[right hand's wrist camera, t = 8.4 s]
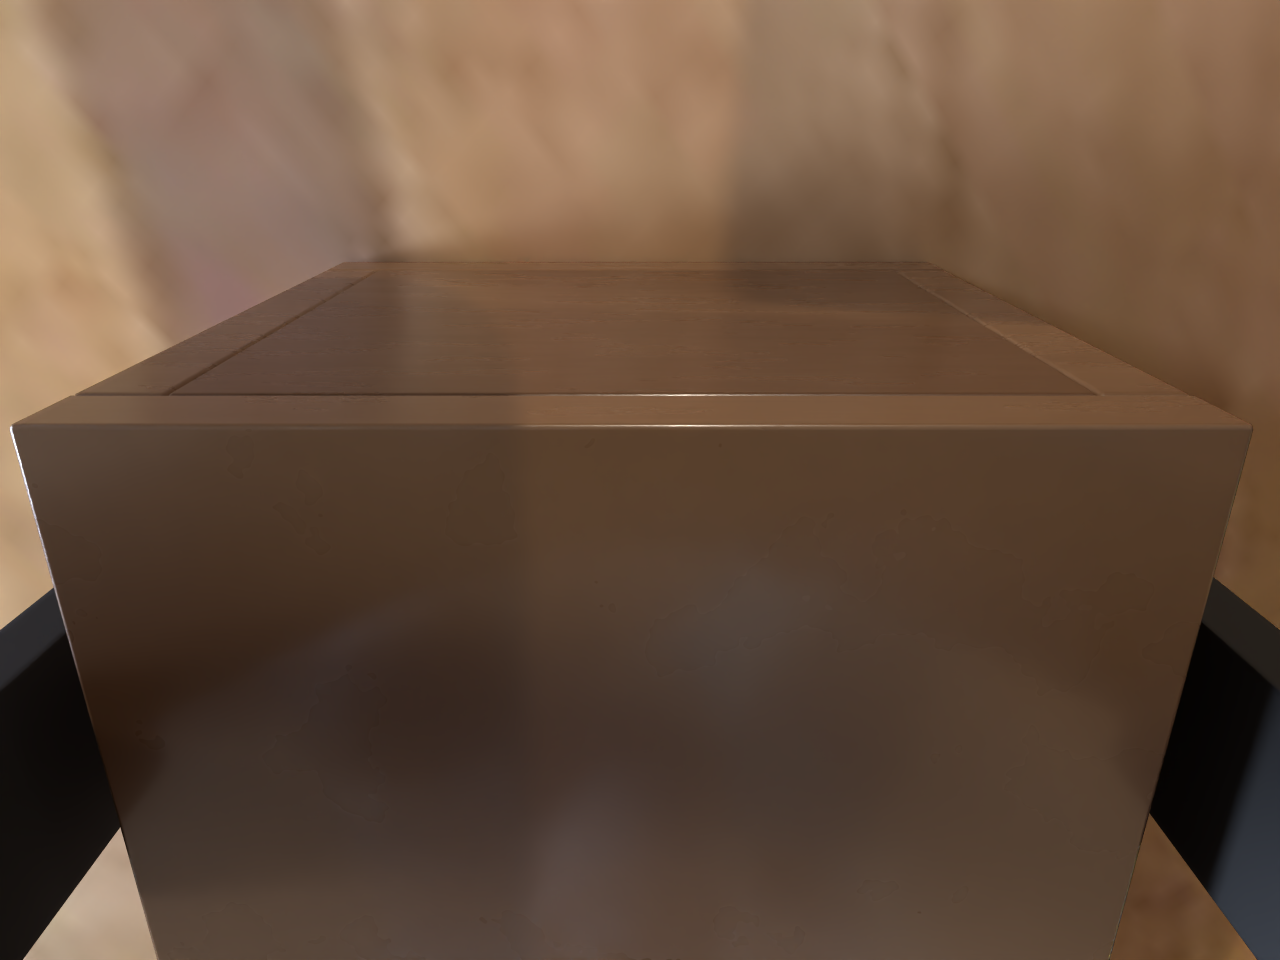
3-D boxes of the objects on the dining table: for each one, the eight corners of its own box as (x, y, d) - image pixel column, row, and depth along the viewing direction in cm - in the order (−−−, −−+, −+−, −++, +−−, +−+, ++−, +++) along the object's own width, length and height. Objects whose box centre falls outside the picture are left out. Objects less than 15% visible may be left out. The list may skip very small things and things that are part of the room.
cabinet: (833, 1072, 24) (939, 1592, 16) (440, 1072, 24) (332, 1592, 16) (930, 261, 16) (1256, 424, 8) (340, 261, 16) (5, 424, 8)
